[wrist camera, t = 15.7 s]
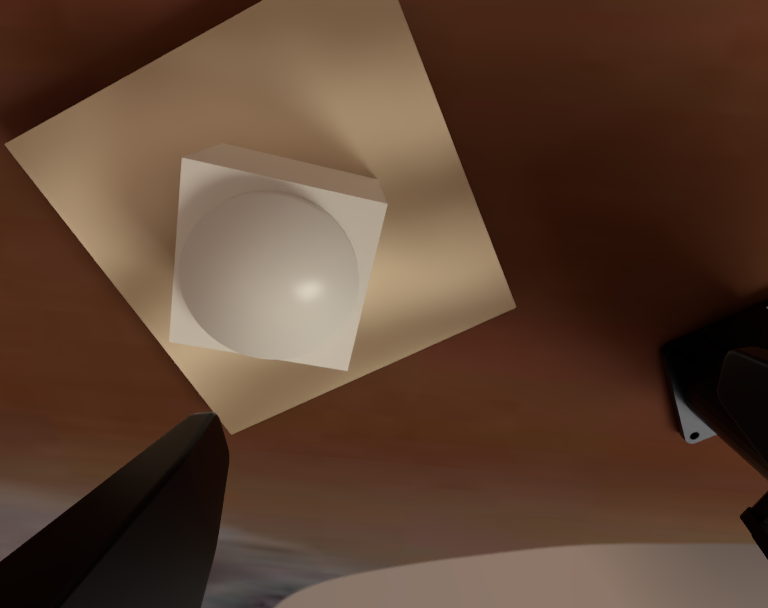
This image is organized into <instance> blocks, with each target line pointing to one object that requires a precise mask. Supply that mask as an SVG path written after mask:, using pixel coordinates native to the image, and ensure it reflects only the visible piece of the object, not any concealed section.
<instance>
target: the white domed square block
mask: <svg viewBox="0 0 768 608" xmlns="http://www.w3.org/2000/svg"><path fill="white" fill-rule="evenodd" d="M387 205H388V203H387V201H386V198H385V196H384V194H383V191H382V189H381V186H380V184H379V181H378V179H375V178H370V177H366V176H362V175H358V174H353V173H349V172H345V171H340V170H336V169H332V168H328V167H323V166H319V165H315V164H310V163H306V162H302V161H298V160H293V159H289V158H285V157H280V156H276V155H272V154H268V153H263V152H259V151H255V150H250V149H246V148H242V147H238V146H233V145H229V144H225V143H221V144H219V145H216V146H213V147H210V148H207V149H204V150H202V151H199V152H196V153H193V154H190V155H187V156H184V157H182V161H181V176H180V190H179V205H178V219H177V234H176V248H175V263H174V277H173V291H172V306H171V320H170V335H169V342H172V343H178V344H184V345H190V346H197V347H203V348H209V349H215V350H221V351H227V352H233V353H239V354H243V355H246V356H250V357H254V358H259V359H268V360H282V361H288V362H294V363H301V364H307V365H313V366H319V367H325V368H331V369H337V370H343V371H348V367H349V363H350V359H351V355H352V350H353V346H354V342H355V338H356V334H357V330H358V325H359V321H360V317H361V313H362V309H363V305H364V301H365V296H366V292H367V288H368V284H369V280H370V276H371V271H372V267H373V263H374V259H375V255H376V251H377V246H378V242H379V238H380V234H381V230H382V226H383V221H384V217H385V213H386V209H387Z"/></svg>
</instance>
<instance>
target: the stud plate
mask: <svg viewBox="0 0 768 608" xmlns="http://www.w3.org/2000/svg"><path fill="white" fill-rule="evenodd" d="M221 143H225V144H229V145H233V146H238V147H242V148H246V149H250V150H255V151H259V152H263V153H268V154H272V155H276V156H280V157H285V158H289V159H293V160H298V161H302V162H306V163H310V164H315V165H319V166H323V167H328V168H332V169H336V170H340V171H345V172H349V173H353V174H358V175H362V176H366V177H370V178H375V179H378V181H379V184H380V186H381V189H382V191H383V194H384V196H385V198H386V201H387V203H388V205H387V209H386V213H385V217H384V221H383V226H382V230H381V234H380V238H379V242H378V246H377V251H376V255H375V259H374V263H373V267H372V271H371V276H370V280H369V284H368V288H367V292H366V296H365V301H364V305H363V309H362V313H361V317H360V321H359V325H358V330H357V334H356V338H355V342H354V346H353V350H352V355H351V359H350V363H349V367H348V371H343V370H337V369H331V368H325V367H319V366H313V365H307V364H301V363H294V362H288V361H282V360H268V359H259V358H254V357H250V356H246V355H243V354H239V353H233V352H227V351H221V350H215V349H209V348H203V347H197V346H190V345H184V344H178V343H172V342H169V335H170V320H171V306H172V291H173V277H174V263H175V248H176V234H177V219H178V205H179V190H180V176H181V161H182V157H184V156H187V155H190V154H193V153H196V152H199V151H202V150H204V149H207V148H210V147H213V146H216V145H219V144H221ZM4 145H5V146H6V147H7V149H8V150H9V151H10V152H11V154H12V155H13V156H14V157H15V159H16V160H17V161H18V163H19V164H20V165H21V166H22V168H23V169H24V170H25V172H26V173H27V174H28V175H29V177H30V178H31V179H32V180H33V182H34V183H35V184H36V186H37V187H38V188H39V189H40V191H41V192H42V193H43V195H44V196H45V197H46V198H47V200H48V201H49V202H50V203H51V205H52V206H53V207H54V209H55V210H56V211H57V212H58V214H59V215H60V216H61V218H62V219H63V220H64V221H65V223H66V224H67V225H68V226H69V228H70V229H71V230H72V232H73V233H74V234H75V235H76V237H77V238H78V239H79V241H80V242H81V243H82V244H83V246H84V247H85V248H86V249H87V251H88V252H89V253H90V255H91V256H92V257H93V258H94V260H95V261H96V262H97V264H98V265H99V266H100V267H101V269H102V270H103V271H104V272H105V274H106V275H107V276H108V278H109V279H110V280H111V281H112V283H113V284H114V285H115V287H116V288H117V289H118V290H119V292H120V293H121V294H122V295H123V297H124V298H125V299H126V301H127V302H128V303H129V304H130V306H131V307H132V308H133V310H134V311H135V312H136V313H137V315H138V316H139V317H140V318H141V320H142V321H143V322H144V324H145V325H146V326H147V327H148V329H149V330H150V331H151V333H152V334H153V335H154V336H155V338H156V339H157V340H158V341H159V343H160V344H161V345H162V347H163V348H164V349H165V350H166V352H167V353H168V354H169V356H170V357H171V358H172V359H173V361H174V362H175V363H176V364H177V366H178V367H179V368H180V370H181V371H182V372H183V373H184V375H185V376H186V377H187V379H188V380H189V381H190V382H191V384H192V385H193V386H194V387H195V389H196V390H197V391H198V393H199V394H200V395H201V396H202V398H203V399H204V400H205V402H206V403H207V404H208V405H209V407H210V408H211V409H212V410H213V412H215V413H216V414H217V415H218V416H219V418H220V421H221V422H222V423H223V425H224V426H225V427H226V428H227V430H228V431H229V432H230V434H231V435H232V434H234V433H236V432H239V431H241V430H243V429H245V428H247V427H250V426H252V425H254V424H256V423H259V422H261V421H263V420H265V419H268V418H270V417H272V416H274V415H277V414H279V413H281V412H283V411H286V410H288V409H290V408H292V407H295V406H297V405H299V404H301V403H303V402H306V401H308V400H310V399H312V398H315V397H317V396H319V395H321V394H324V393H326V392H328V391H330V390H333V389H335V388H337V387H339V386H342V385H344V384H346V383H348V382H350V381H353V380H355V379H357V378H359V377H362V376H364V375H366V374H368V373H371V372H373V371H375V370H377V369H380V368H382V367H384V366H386V365H389V364H391V363H393V362H395V361H397V360H400V359H402V358H404V357H406V356H409V355H411V354H413V353H415V352H418V351H420V350H422V349H424V348H427V347H429V346H431V345H433V344H436V343H438V342H440V341H442V340H444V339H447V338H449V337H451V336H453V335H456V334H458V333H460V332H462V331H465V330H467V329H469V328H471V327H474V326H476V325H478V324H480V323H483V322H485V321H487V320H489V319H492V318H494V317H496V316H498V315H500V314H503V313H505V312H507V311H509V310H512V309H514V308H516V305H515V302H514V300H513V297H512V295H511V292H510V289H509V287H508V284H507V282H506V279H505V276H504V274H503V271H502V269H501V266H500V263H499V261H498V258H497V256H496V253H495V250H494V248H493V245H492V243H491V240H490V237H489V235H488V232H487V230H486V227H485V224H484V222H483V219H482V217H481V214H480V211H479V209H478V206H477V204H476V201H475V198H474V196H473V193H472V191H471V188H470V185H469V183H468V180H467V178H466V175H465V173H464V170H463V167H462V165H461V162H460V160H459V157H458V154H457V152H456V149H455V147H454V144H453V141H452V139H451V136H450V134H449V131H448V128H447V126H446V123H445V121H444V118H443V115H442V113H441V110H440V108H439V105H438V102H437V100H436V97H435V95H434V92H433V89H432V87H431V84H430V82H429V79H428V76H427V74H426V71H425V69H424V66H423V63H422V61H421V58H420V56H419V53H418V50H417V48H416V45H415V43H414V40H413V37H412V35H411V32H410V30H409V27H408V24H407V22H406V19H405V17H404V14H403V11H402V9H401V6H400V4H399V1H398V0H262V1H260V2H259V3H257V4H255V5H253V6H251V7H250V8H248V9H246V10H244V11H242V12H241V13H239V14H237V15H235V16H234V17H232V18H230V19H228V20H226V21H225V22H223V23H221V24H219V25H217V26H216V27H214V28H212V29H210V30H208V31H207V32H205V33H203V34H201V35H199V36H198V37H196V38H194V39H192V40H190V41H189V42H187V43H185V44H183V45H181V46H180V47H178V48H176V49H174V50H173V51H171V52H169V53H167V54H165V55H164V56H162V57H160V58H158V59H156V60H155V61H153V62H151V63H149V64H147V65H146V66H144V67H142V68H140V69H138V70H137V71H135V72H133V73H131V74H129V75H128V76H126V77H124V78H122V79H120V80H119V81H117V82H115V83H113V84H112V85H110V86H108V87H106V88H104V89H103V90H101V91H99V92H97V93H95V94H94V95H92V96H90V97H88V98H86V99H85V100H83V101H81V102H79V103H77V104H76V105H74V106H72V107H70V108H68V109H67V110H65V111H63V112H61V113H60V114H58V115H56V116H54V117H52V118H51V119H49V120H47V121H45V122H43V123H42V124H40V125H38V126H36V127H34V128H33V129H31V130H29V131H27V132H25V133H24V134H22V135H20V136H18V137H16V138H15V139H13V140H11V141H9V142H7V143H6V144H4Z"/></svg>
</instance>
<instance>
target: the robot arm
mask: <svg viewBox="0 0 768 608" xmlns="http://www.w3.org/2000/svg"><path fill="white" fill-rule="evenodd" d="M674 350H675V352H674V353H673V354H671V353H672V352H673V351H674ZM660 355H661V359H662V363H663V367H664V371H665V375H666V379H667V383H668V387H669V391H670V395H671V399H672V403H673V407H674V411H675V415H676V419H677V423H678V427H679V431H680V435H681V437H682V438H683V439H684V440H685V441H686V442H688V443H696V442H699V441H701V440H704V439H706V438H709V437H711V436H714V435H718V436H719V437H720V438H721V439H722V440H723V441H725V442H726V443H727V444H728V445H729V446H730V447H731V448H732V449H733V450H735V451H736V452H737V453H738V454H739V455H740V456H741V457H742V458H743V459H745V460H746V461H747V462H748V463H749V464H750V465H751V466H752V467H753V468H755V469H756V470H757V471H758V472H759V473H760V474H761V475H762V476H763V477H765V478H766V479H767V480H768V300H767V301H765V302H762V303H760V304H758V305H755V306H753V307H751V308H748V309H746V310H743V311H741V312H739V313H736V314H734V315H732V316H729V317H727V318H724V319H722V320H720V321H717V322H715V323H713V324H710V325H708V326H706V327H703V328H701V329H698V330H696V331H694V332H691V333H689V334H687V335H684V336H682V337H679V338H677V339H675V340H672V341H670V342H668V343H666V344H665V345H664V346H663V347H662V349H661V351H660ZM228 467H229V450H228V446H227V442H226V439H225V435H224V432H223V428H222V425H221V421H220V418H219V416H218V415H217V414H216V413H215V412H205V413H197V414H192V415H190V416H188V417H187V418H186V419H184V420H183V421H182V422H180V423H179V424H178V425H177V426H175V427H174V428H173V429H171V430H170V431H169V432H168V433H166V434H165V435H164V436H162V437H161V438H160V439H158V440H157V441H156V442H155V443H153V444H152V445H151V446H149V447H148V448H147V449H146V450H144V451H143V452H142V453H140V454H139V455H138V456H136V457H135V458H134V459H133V460H131V461H130V462H129V463H127V464H126V465H125V466H124V467H122V468H121V469H120V470H118V471H117V472H116V473H114V474H113V475H112V476H111V477H109V478H108V479H107V480H105V481H104V482H103V483H102V484H100V485H99V486H98V487H96V488H95V489H94V490H92V491H91V492H90V493H89V494H87V495H86V496H85V497H83V498H82V499H81V500H80V501H78V502H77V503H76V504H74V505H73V506H72V507H70V508H69V509H68V510H67V511H65V512H64V513H63V514H61V515H60V516H59V517H58V518H56V519H55V520H54V521H52V522H51V523H50V524H48V525H47V526H46V527H45V528H43V529H42V530H41V531H39V532H38V533H37V534H36V535H34V536H33V537H32V538H30V539H29V540H28V541H26V542H25V543H24V544H23V545H21V546H20V547H19V548H17V549H16V550H15V551H13V552H12V553H11V554H10V555H8V556H7V557H6V558H4V559H3V560H2V561H1V562H0V608H201V605H202V601H203V598H204V594H205V590H206V586H207V583H208V579H209V575H210V571H211V567H212V564H213V559H214V555H215V551H216V546H217V540H218V535H219V528H220V521H221V514H222V508H223V501H224V494H225V487H226V481H227V474H228ZM740 518H741V520H742V521H743V523H744V524H745V525H746V527H747V528H748V530H749V531H750V533H751V534H752V537H753V539H754V540H755V542H756V543H757V545H758V546H759V548H760V549H761V550H762V552H763V553H764V555H765V556H766V558H767V559H768V491H767V492H766V493H765V494H764V495H763V496H762V497H761V498H760V499H759V501H758V502H757V503H756V504H755V505H754V506H753V507H752V508H751V507H748V508H747V509H746V510H745V511H744V512H743V513H742V514H741V515H740Z"/></svg>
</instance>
